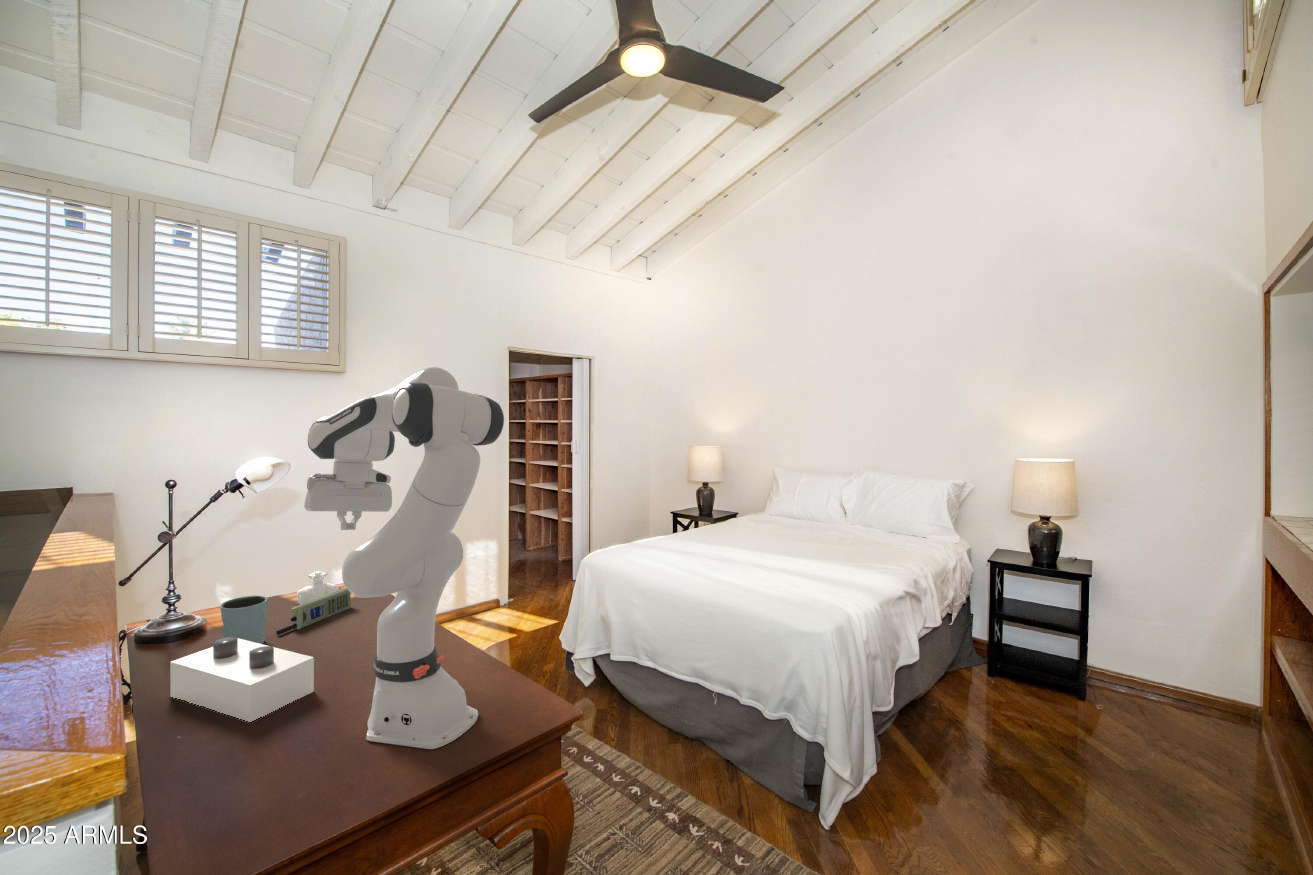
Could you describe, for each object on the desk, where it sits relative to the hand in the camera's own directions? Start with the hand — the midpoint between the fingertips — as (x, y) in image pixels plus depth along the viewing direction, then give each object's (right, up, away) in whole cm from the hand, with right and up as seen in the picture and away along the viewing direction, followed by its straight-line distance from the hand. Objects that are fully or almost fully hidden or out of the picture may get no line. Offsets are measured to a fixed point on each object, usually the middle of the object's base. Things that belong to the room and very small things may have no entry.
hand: (348, 529), depth 139 cm
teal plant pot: (-34, -33, +10) cm, 48 cm away
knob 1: (-21, -30, -13) cm, 38 cm away
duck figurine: (-34, -32, +43) cm, 64 cm away
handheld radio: (-26, -33, +28) cm, 50 cm away
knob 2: (-9, -30, -17) cm, 36 cm away
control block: (-15, -35, -15) cm, 41 cm away
